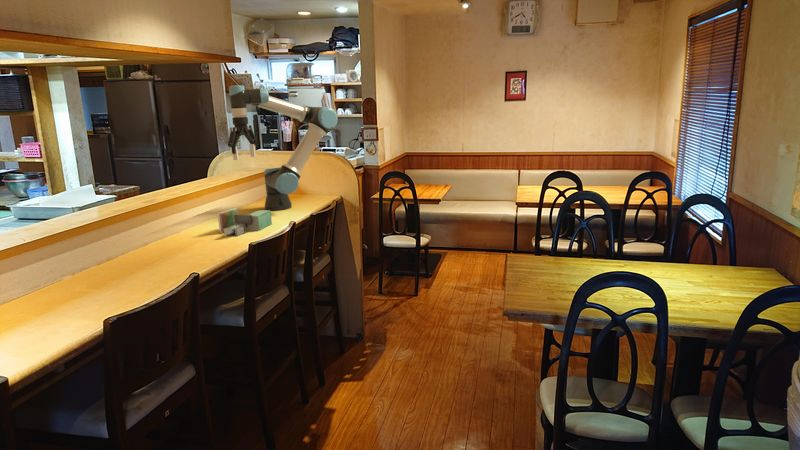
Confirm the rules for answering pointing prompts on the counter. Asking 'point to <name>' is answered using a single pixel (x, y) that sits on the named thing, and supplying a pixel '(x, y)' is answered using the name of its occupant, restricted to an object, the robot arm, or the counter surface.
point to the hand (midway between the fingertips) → (244, 158)
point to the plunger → (239, 222)
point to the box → (259, 220)
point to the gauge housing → (229, 221)
